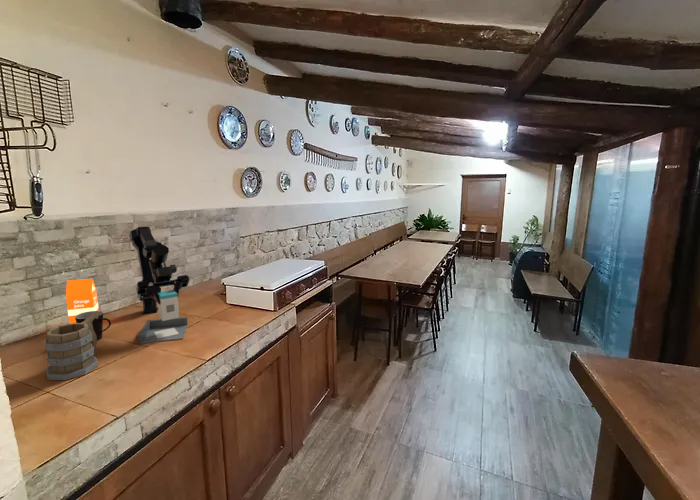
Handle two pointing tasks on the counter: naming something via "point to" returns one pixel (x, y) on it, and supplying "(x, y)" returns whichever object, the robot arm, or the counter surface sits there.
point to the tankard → (71, 349)
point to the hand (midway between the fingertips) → (168, 302)
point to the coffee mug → (94, 322)
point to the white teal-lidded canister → (168, 305)
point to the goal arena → (163, 330)
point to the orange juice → (80, 297)
